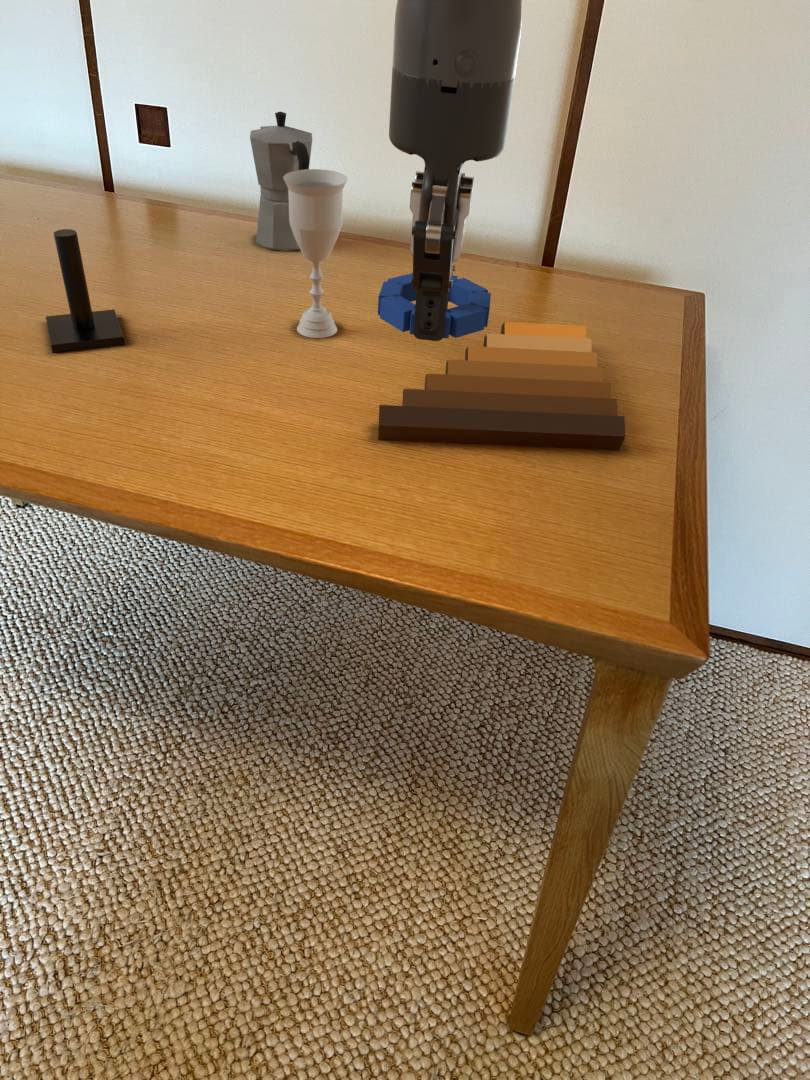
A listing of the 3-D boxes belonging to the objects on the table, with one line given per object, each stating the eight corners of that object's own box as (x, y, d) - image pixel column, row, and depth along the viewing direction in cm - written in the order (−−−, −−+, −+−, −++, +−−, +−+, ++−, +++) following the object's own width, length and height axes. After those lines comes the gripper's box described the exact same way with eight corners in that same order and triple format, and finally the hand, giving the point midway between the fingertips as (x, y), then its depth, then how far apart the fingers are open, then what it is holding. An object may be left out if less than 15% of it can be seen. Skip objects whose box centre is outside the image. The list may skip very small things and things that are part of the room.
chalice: (325, 312, 106) (324, 166, 94) (356, 332, 102) (360, 181, 90) (277, 325, 102) (270, 174, 91) (308, 346, 98) (305, 191, 87)
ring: (485, 343, 59) (488, 322, 58) (372, 330, 60) (373, 309, 59) (489, 298, 66) (492, 279, 65) (386, 287, 66) (388, 267, 65)
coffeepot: (240, 230, 128) (232, 102, 116) (296, 223, 132) (293, 100, 120) (277, 264, 118) (272, 129, 106) (336, 256, 121) (337, 125, 110)
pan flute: (378, 443, 82) (620, 453, 84) (379, 413, 80) (628, 425, 81) (380, 335, 102) (577, 345, 103) (381, 309, 100) (582, 319, 101)
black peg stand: (52, 353, 93) (28, 248, 85) (47, 324, 99) (23, 223, 91) (125, 344, 96) (107, 242, 88) (115, 316, 101) (98, 218, 94)
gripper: (405, 42, 55) (391, 291, 66) (377, 78, 44) (365, 368, 55) (516, 53, 54) (483, 301, 65) (515, 92, 44) (475, 381, 55)
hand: (429, 331), depth 60 cm, fingers closed on ring, 1 cm apart
